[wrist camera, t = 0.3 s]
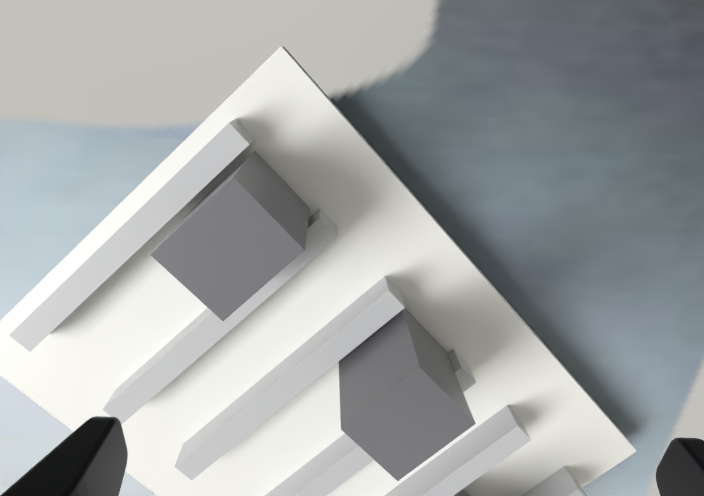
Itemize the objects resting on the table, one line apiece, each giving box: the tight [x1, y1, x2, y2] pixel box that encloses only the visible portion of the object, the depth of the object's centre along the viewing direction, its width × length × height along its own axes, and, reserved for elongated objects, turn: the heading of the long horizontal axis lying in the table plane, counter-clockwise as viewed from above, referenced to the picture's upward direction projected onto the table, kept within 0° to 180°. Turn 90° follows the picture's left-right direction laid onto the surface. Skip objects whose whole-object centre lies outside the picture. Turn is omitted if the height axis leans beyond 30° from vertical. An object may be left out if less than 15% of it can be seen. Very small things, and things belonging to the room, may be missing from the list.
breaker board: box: [0, 46, 636, 496], centre depth 25 cm, size 18×24×3 cm
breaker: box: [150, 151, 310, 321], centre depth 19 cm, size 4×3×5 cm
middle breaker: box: [339, 308, 476, 481], centre depth 21 cm, size 4×3×5 cm
